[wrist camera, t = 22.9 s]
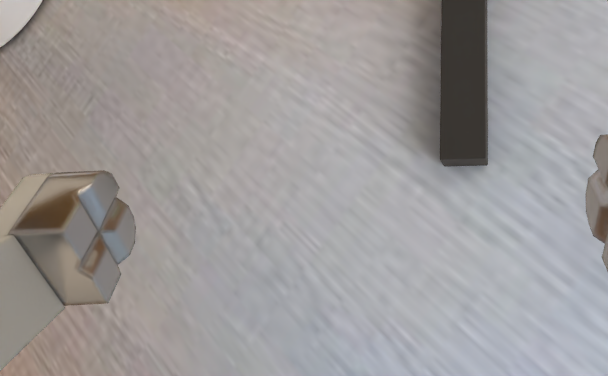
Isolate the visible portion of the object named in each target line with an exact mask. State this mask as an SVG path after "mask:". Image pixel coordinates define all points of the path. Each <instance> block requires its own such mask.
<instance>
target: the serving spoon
mask: <svg viewBox="0 0 608 376" xmlns="http://www.w3.org/2000/svg"><path fill="white" fill-rule="evenodd" d="M440 160H441V161H442V163H443V165H444V166H477V165H488V108H487V0H442V26H441V119H440Z"/></svg>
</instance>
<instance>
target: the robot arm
mask: <svg viewBox="0 0 608 376" xmlns="http://www.w3.org/2000/svg"><path fill="white" fill-rule="evenodd" d="M42 1H43V0H0V47H2V46H3V45H4V44H6V43H7V42H8V41H10V40H11V39H12V38H13V37H14V36H15V35H16V34H17V33H18V32H19V31H20V30H21V29H22V28H23V27H24V26H25V25H26V24H27V22H28V21H29V20H30V19H31V17H32V16H33V15H34V13H35V12H36V10H37V9H38V7H39V6H40V4H41V2H42ZM593 158H594V160H595V162H596V164H597V167H598V170H597V171H596V172H595V173H594V174H593V175H592V176H590V177H589V178H588V183H587V189H586V214H587V218H588V223H589V226H590V229H591V231H592V234H593V236H594V237H596V238H597V239H599V240H600V241H602V242H603V243H605V246H604V250H603V254H602V259H603V262H604V264H605V266H606V269H607V271H608V134H605V135H600V136H599V138H598V140H597V142H596V145H595V149H594V153H593ZM118 191H119V186H118V184H117V182H116V180H115V179H114V177H113V175H112V174H111V173H109V172H106V171H104V170H103V171H83V172H62V173H54V174H53V173H47V174H32V175H29V176H26V177H24V178H22V179H21V181H20V182H19V183H18V185H17V186H16V187H15V189H14V190H13V191H12V193H11V194H10V195H9V197H8V198H7V199H6V201H5V202H4V203H3V205H2V206H1V207H0V371H1V370H2V369H3V368H4V367H5V366H6V365H7V364H8V363H9V362H10V361H11V360H12V359H13V358H14V357H15V356H16V355H17V354H18V353H19V352H20V351H21V350H22V349H23V348H24V347H26V346H27V345H28V344H29V343H30V342H31V341H32V340H33V339H34V338H35V337H36V336H37V335H38V334H39V333H40V332H41V331H42V330H43V329H44V328H45V327H46V326H47V325H48V324H49V323H50V322H51V321H52V320H53V319H54V318H55V317H56V316H57V315H58V314H59V313H60V312H62V311H63V310H64V309H65V306H67V305H85V304H104V303H109V300H110V298H111V296H112V294H113V292H114V289H115V287H116V285H117V283H118V281H119V278H120V276H121V272H120V269H119V267H118V264H120V263H121V262H122V261H123V260H124V259H126V258H127V257H128V256H129V255H130V254H131V251H132V249H133V246H134V244H135V235H136V225H135V220H134V216H133V214H132V212H131V210H130V208H129V206H128V205H127V204H125V203H124V202H122V201H121V200H120V199H118V198H117V194H118Z"/></svg>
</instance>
